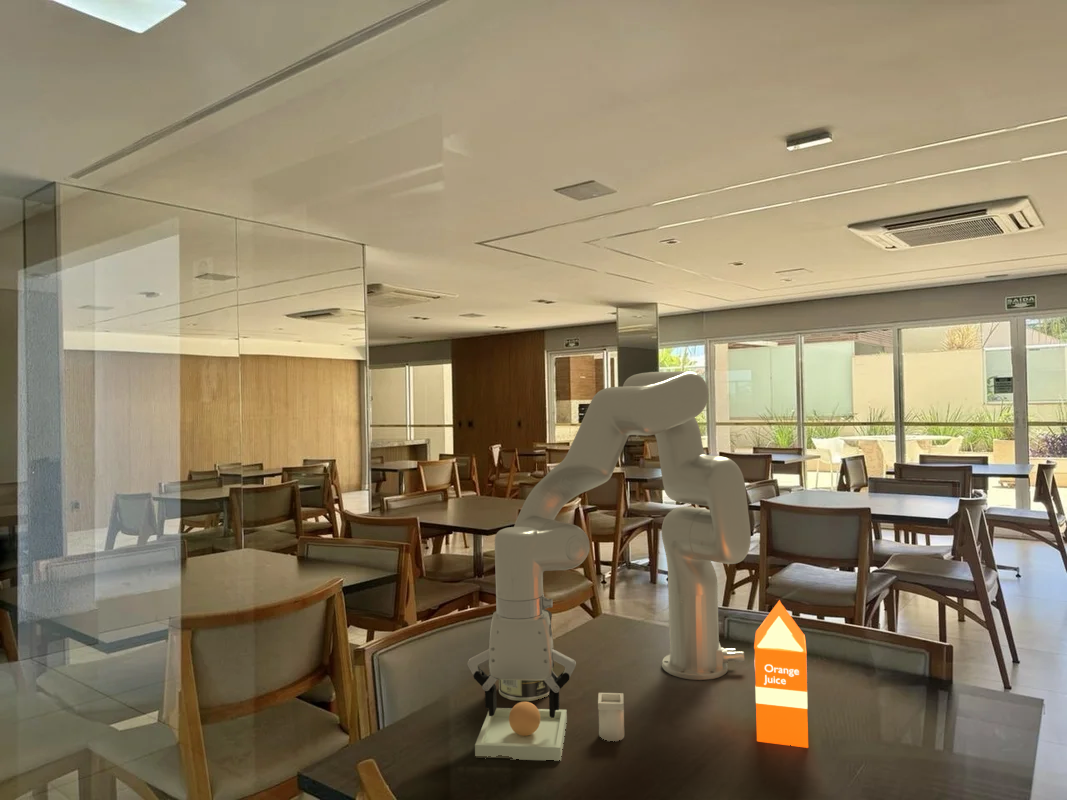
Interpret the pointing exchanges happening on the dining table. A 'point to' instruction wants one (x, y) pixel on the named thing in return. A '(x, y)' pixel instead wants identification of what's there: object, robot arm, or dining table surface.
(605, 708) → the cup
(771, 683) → the orange juice
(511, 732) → the tray
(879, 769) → the dining table surface
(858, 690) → the dining table surface
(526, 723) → the ball
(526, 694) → the coffee can
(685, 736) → the dining table surface
